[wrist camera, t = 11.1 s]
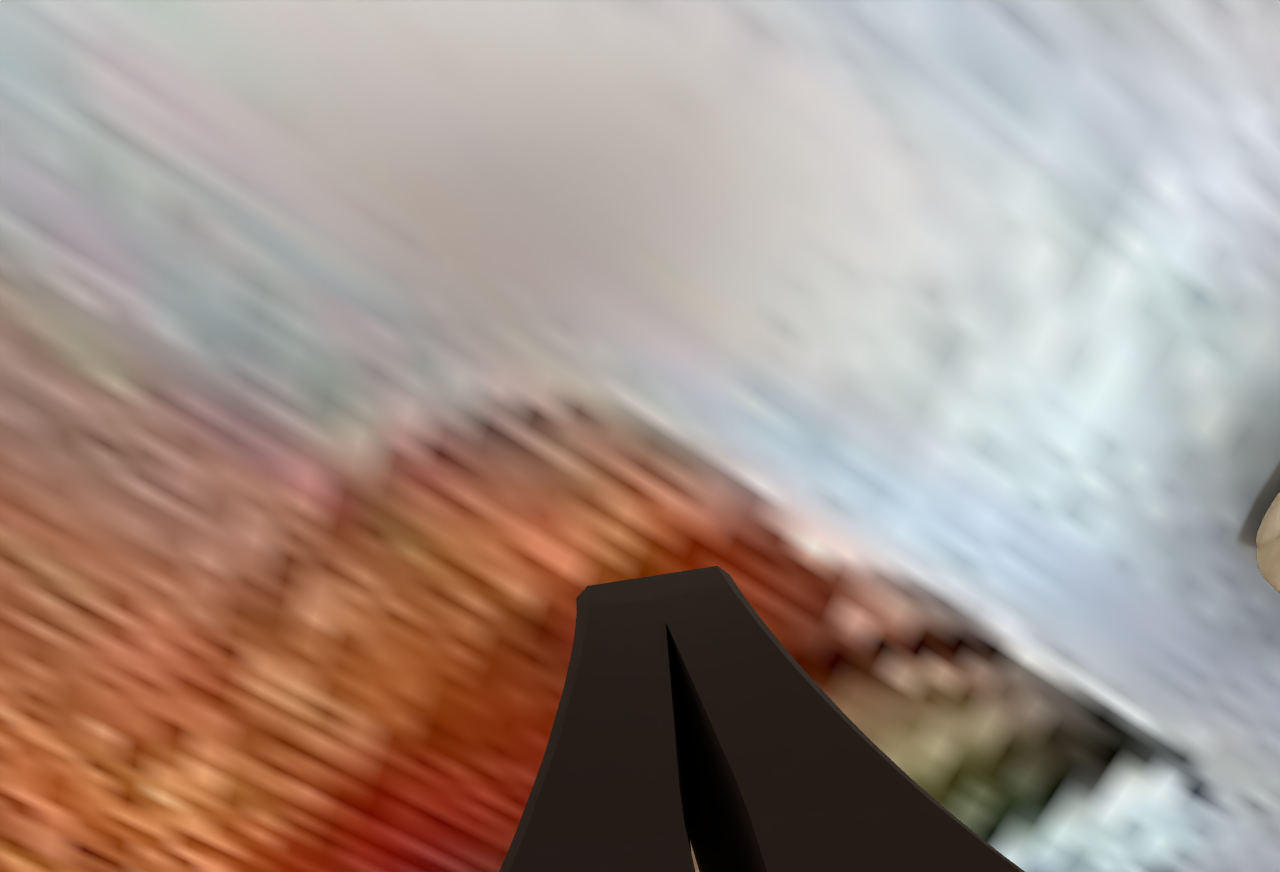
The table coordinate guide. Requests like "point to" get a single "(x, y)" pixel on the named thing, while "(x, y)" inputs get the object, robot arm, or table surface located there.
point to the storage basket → (1270, 544)
